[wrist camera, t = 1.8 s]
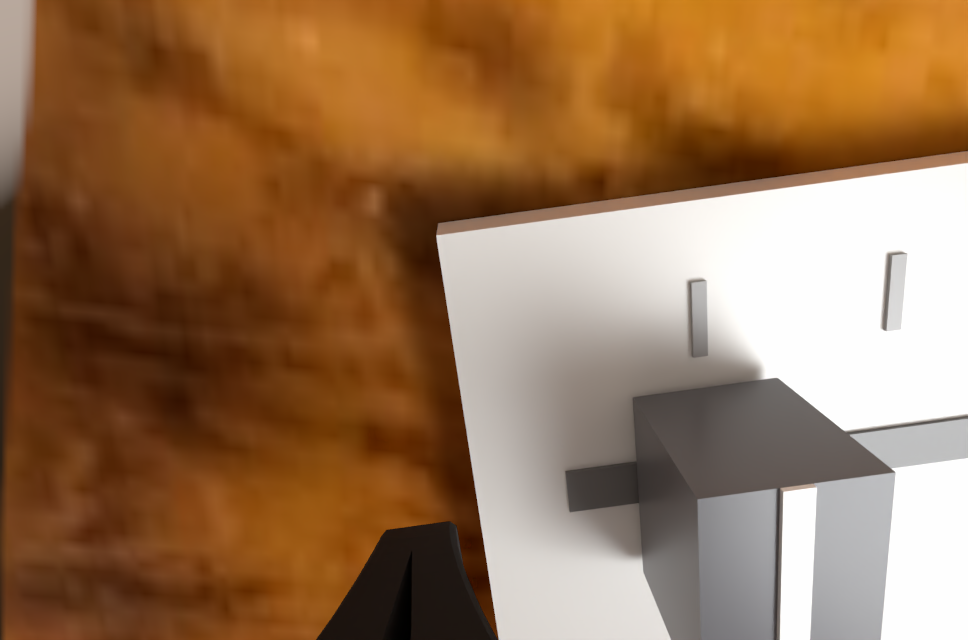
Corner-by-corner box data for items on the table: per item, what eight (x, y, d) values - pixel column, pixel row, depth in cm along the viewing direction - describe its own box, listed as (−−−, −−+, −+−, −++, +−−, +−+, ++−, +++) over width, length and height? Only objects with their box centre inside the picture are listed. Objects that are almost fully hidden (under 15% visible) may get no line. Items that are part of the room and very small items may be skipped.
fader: (773, 554, 14) (879, 699, 11) (643, 572, 14) (705, 723, 11) (777, 376, 13) (899, 476, 9) (632, 396, 13) (700, 503, 9)
